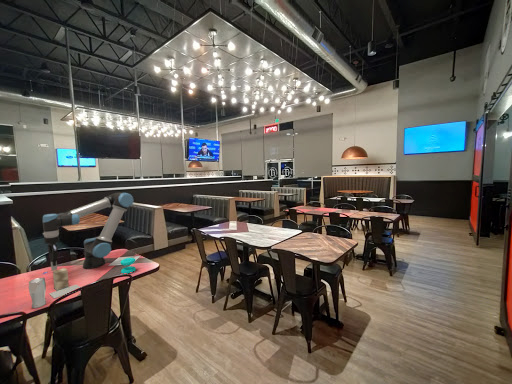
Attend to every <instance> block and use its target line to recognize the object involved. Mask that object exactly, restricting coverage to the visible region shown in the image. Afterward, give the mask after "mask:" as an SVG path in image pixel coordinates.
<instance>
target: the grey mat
mask: <svg viewBox="0 0 512 384" xmlns="http://www.w3.org/2000/svg"><path fill="white" fill-rule="evenodd" d="M80 287H81V286H80V285H78V284H73V285H70V286H69V287H67V288H64V289H61V290H58V291H56V290H54V291H52V292H50V293H48V295H49V296H51V297H52V298H53V299H58V298H60V297H63V295H64V296H66V295H68V294H67V293H69V292H71V291H73V290H75V289H77V288H80ZM65 294H66V295H65ZM69 294H70V293H69Z"/></svg>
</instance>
